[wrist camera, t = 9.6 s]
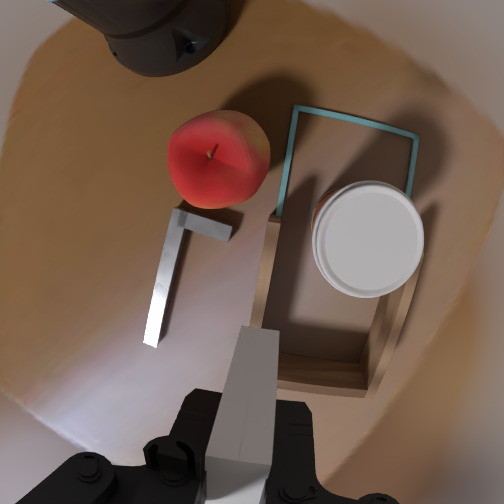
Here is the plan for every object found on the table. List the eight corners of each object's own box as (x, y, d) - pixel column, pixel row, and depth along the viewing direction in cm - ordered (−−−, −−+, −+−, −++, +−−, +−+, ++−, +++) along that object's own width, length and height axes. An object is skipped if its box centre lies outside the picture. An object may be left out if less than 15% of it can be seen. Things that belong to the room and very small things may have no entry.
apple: (263, 211, 35) (255, 224, 25) (181, 197, 35) (144, 204, 26) (278, 127, 33) (277, 107, 23) (195, 115, 33) (163, 94, 23)
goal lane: (294, 105, 32) (294, 104, 31) (418, 135, 31) (419, 135, 31) (275, 215, 35) (275, 215, 34) (399, 239, 34) (401, 240, 34)
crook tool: (178, 206, 36) (173, 207, 34) (235, 224, 36) (232, 226, 34) (148, 335, 40) (143, 342, 39) (196, 354, 40) (192, 361, 38)
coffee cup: (344, 162, 33) (375, 154, 21) (399, 222, 34) (447, 243, 22) (285, 221, 35) (287, 242, 23) (342, 278, 36) (366, 323, 24)
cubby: (270, 214, 35) (267, 221, 29) (404, 240, 34) (424, 252, 28) (245, 354, 39) (239, 381, 33) (363, 371, 38) (373, 398, 32)
